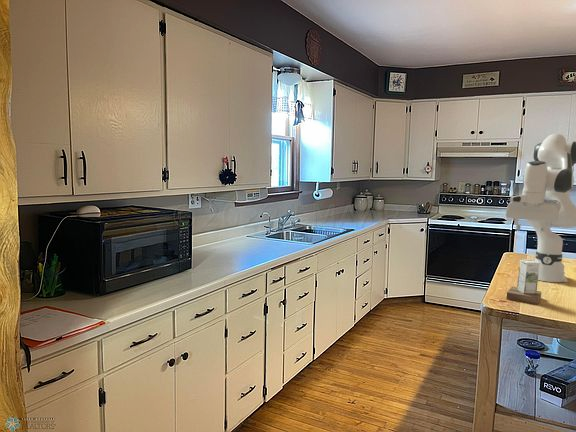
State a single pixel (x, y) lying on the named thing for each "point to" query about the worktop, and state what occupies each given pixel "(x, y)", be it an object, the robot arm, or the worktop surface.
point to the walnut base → (523, 296)
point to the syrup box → (528, 276)
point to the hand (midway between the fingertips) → (530, 230)
